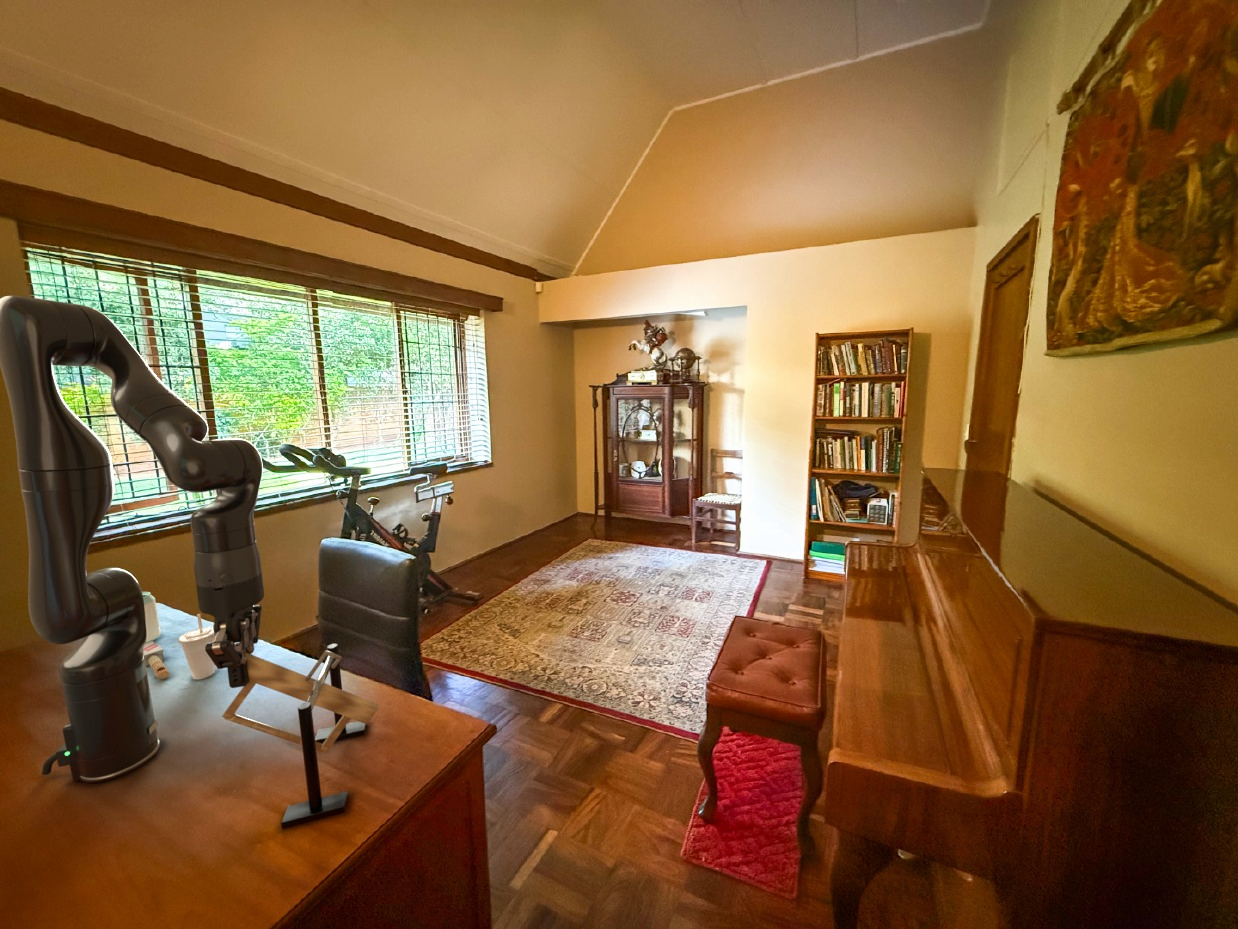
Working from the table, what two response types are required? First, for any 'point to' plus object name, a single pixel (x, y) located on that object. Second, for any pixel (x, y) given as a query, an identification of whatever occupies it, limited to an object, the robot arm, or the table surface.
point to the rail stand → (316, 804)
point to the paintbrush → (155, 659)
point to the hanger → (300, 689)
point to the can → (151, 617)
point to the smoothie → (198, 650)
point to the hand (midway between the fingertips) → (242, 681)
